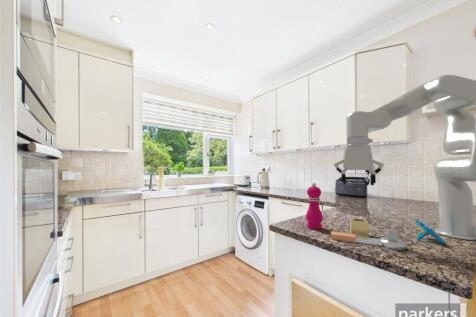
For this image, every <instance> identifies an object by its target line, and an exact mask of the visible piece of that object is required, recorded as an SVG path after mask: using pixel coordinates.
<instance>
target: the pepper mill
mask: <svg viewBox="0 0 476 317" xmlns="http://www.w3.org/2000/svg"><path fill="white" fill-rule="evenodd" d="M306 193H307V196H308V199H307V201H308V204H309V205H308V208H307V211H306V213H305V220H306V221H307V222H306V228H307V229H309V230H316V231H317V230H322V227H323V224H322V222H323V220H324V217H323V213H322V211H321V209H320V201H321V200H320V199H321V197H320V196H321V195H322V190H321V189H320V187H318V186H317V184H316V183H315V182H312V184H311V186H309V187H308V188H307V190H306Z"/></svg>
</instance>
